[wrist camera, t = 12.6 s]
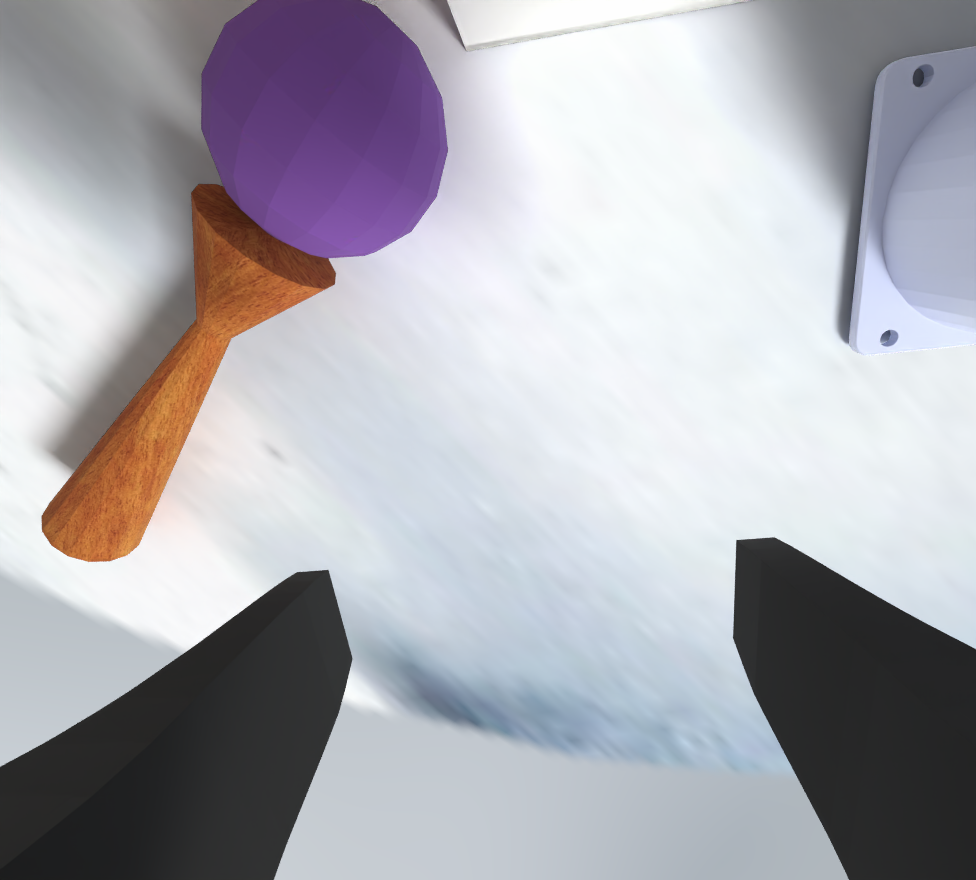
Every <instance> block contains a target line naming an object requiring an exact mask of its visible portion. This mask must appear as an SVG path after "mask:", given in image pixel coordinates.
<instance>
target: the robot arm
mask: <svg viewBox="0 0 976 880" xmlns="http://www.w3.org/2000/svg"><path fill="white" fill-rule="evenodd" d="M917 68H918V69H921V70H922V71H923V72H924V80H923V83H922V85H921V86H920V87H916V86H915V85H914V84H913V79H912V77H913V74H914V72H915V70H916V69H917ZM888 330H890V333H891V336H890V338H889V340H888V341H887V342H886V343H883V344H881V343H880V338H881V335H882V334H883V333H884V332H885V331H888ZM967 345H976V46H973V47H966V48H960V49H954V50H948V51H942V52H936V53H930V54H923V55H917V56H911V57H905V58H902V59H899V60H897V61H894V62H892V63H890V64H889V65H887V66H886V67H885V68H884V69H883V70H882V71H881V73H880V74H879V76H878V77H877V81H876V84H875V92H874V102H873V111H872V121H871V131H870V140H869V150H868V160H867V169H866V179H865V188H864V198H863V208H862V217H861V227H860V237H859V246H858V256H857V266H856V275H855V285H854V294H853V304H852V314H851V323H850V333H849V346H850V347H851V349H852V350H853V351H855V352H857V353H859V354H861V355H868V356H870V355H880V354H889V353H899V352H909V351H918V350H928V349H938V348H948V347H957V346H967ZM733 639H734V642H735V644H736V647H737V650H738V653H739V655H740V658H741V661H742V664H743V666H744V669H745V672H746V674H747V677H748V679H749V682H750V685H751V687H752V690H753V692H754V695H755V697H756V699H757V701H758V703H759V705H760V707H761V709H762V711H763V713H764V715H765V716H766V718H767V720H768V722H769V724H770V726H771V728H772V730H773V732H774V734H775V736H776V738H777V740H778V742H779V743H780V745H781V747H782V749H783V751H784V753H785V755H786V757H787V759H788V761H789V762H790V764H791V766H792V768H793V770H794V772H795V774H796V776H797V778H798V780H799V781H800V783H801V785H802V787H803V789H804V791H805V793H806V794H807V797H808V799H809V800H810V802H811V804H812V806H813V808H814V810H815V812H816V814H817V816H818V818H819V819H820V821H821V823H822V825H823V827H824V829H825V831H826V833H827V834H828V837H829V839H830V841H831V843H832V845H833V847H834V849H835V851H836V853H837V855H838V857H839V859H840V861H841V863H842V866H843V868H844V870H845V872H846V874H847V876H848V879H849V880H976V649H974V648H973V647H971V646H969V645H967V644H965V643H963V642H961V641H959V640H957V639H955V638H953V637H951V636H949V635H947V634H945V633H943V632H941V631H940V630H938V629H936V628H934V627H932V626H930V625H928V624H926V623H924V622H922V621H921V620H919V619H917V618H915V617H913V616H911V615H910V614H908V613H906V612H904V611H902V610H900V609H899V608H897V607H895V606H893V605H891V604H890V603H888V602H886V601H884V600H883V599H881V598H879V597H877V596H876V595H874V594H872V593H870V592H869V591H867V590H865V589H863V588H862V587H860V586H858V585H856V584H855V583H853V582H851V581H850V580H848V579H846V578H845V577H843V576H841V575H839V574H838V573H836V572H834V571H833V570H831V569H829V568H828V567H826V566H824V565H823V564H821V563H819V562H817V561H816V560H814V559H812V558H811V557H809V556H807V555H806V554H804V553H802V552H800V551H799V550H797V549H795V548H793V547H792V546H790V545H788V544H786V543H784V542H782V541H780V540H778V539H777V538H760V539H746V540H736V570H735V599H734V629H733ZM351 663H352V655H351V651H350V648H349V644H348V640H347V637H346V633H345V629H344V626H343V622H342V618H341V615H340V611H339V607H338V604H337V600H336V596H335V593H334V589H333V585H332V581H331V578H330V574H329V570H322V571H309V572H297V573H295V574H293V575H292V576H290V577H289V578H287V579H285V580H284V581H282V582H281V583H280V584H278V585H277V586H275V587H274V588H272V589H271V590H270V591H268V592H267V593H265V594H264V595H263V596H261V597H260V598H259V599H257V600H256V601H255V602H253V603H252V604H251V605H249V606H248V607H247V608H245V609H244V610H243V611H241V612H240V613H239V614H237V615H236V616H234V617H233V618H232V619H230V620H229V621H228V622H226V623H225V624H224V625H222V626H221V627H220V628H218V629H217V630H216V631H214V632H213V633H212V634H210V635H209V636H208V637H206V638H205V639H203V640H202V641H201V642H199V643H198V644H197V645H195V646H194V647H192V648H191V649H190V650H188V651H187V652H185V653H184V654H182V655H181V656H180V657H178V658H177V659H175V660H174V661H172V662H171V663H169V664H168V665H166V666H165V667H164V668H162V669H161V670H159V671H158V672H156V673H155V674H154V675H152V676H151V677H149V678H148V679H146V680H145V681H143V682H142V683H141V684H139V685H138V686H137V687H135V688H133V689H132V690H131V691H129V692H127V693H126V694H124V695H123V696H121V697H119V698H118V699H116V700H115V701H113V702H112V703H110V704H108V705H107V706H105V707H104V708H102V709H101V710H99V711H97V712H96V713H94V714H92V715H91V716H89V717H87V718H86V719H84V720H82V721H81V722H79V723H77V724H76V725H74V726H72V727H71V728H69V729H67V730H66V731H64V732H62V733H61V734H59V735H57V736H56V737H54V738H52V739H50V740H49V741H47V742H45V743H44V744H42V745H40V746H38V747H36V748H34V749H32V750H31V751H29V752H27V753H25V754H23V755H21V756H19V757H18V758H16V759H14V760H12V761H10V762H8V763H6V764H5V765H3V766H1V767H0V880H274V877H275V875H276V872H277V869H278V866H279V863H280V860H281V858H282V855H283V852H284V850H285V847H286V844H287V842H288V839H289V837H290V834H291V832H292V829H293V827H294V824H295V822H296V819H297V817H298V814H299V812H300V809H301V807H302V804H303V802H304V799H305V797H306V794H307V792H308V789H309V787H310V784H311V782H312V779H313V777H314V774H315V772H316V770H317V767H318V764H319V762H320V760H321V757H322V754H323V752H324V749H325V746H326V744H327V742H328V739H329V737H330V734H331V732H332V729H333V726H334V724H335V721H336V718H337V716H338V713H339V710H340V706H341V702H342V699H343V695H344V691H345V688H346V684H347V679H348V675H349V671H350V667H351Z"/></svg>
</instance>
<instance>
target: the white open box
mask: <svg viewBox="0 0 976 880" xmlns="http://www.w3.org/2000/svg"><path fill="white" fill-rule="evenodd" d="M746 1H751V0H447V2H448V4H449V7H450V10H451V12H452V15H453V17H454V20H455V23H456V25H457V28H458V30H459V33H460V36H461V38H462V41H463V43H464V46H465V49H466V51H473V50H479V49H484V48H490V47H495V46H501V45H506V44H512V43H518V42H523V41H529V40H534V39H540V38H545V37H551V36H557V35H562V34H568V33H573V32H579V31H584V30H590V29H595V28H601V27H607V26H612V25H618V24H623V23H629V22H634V21H640V20H646V19H651V18H657V17H662V16H668V15H673V14H679V13H685V12H690V11H696V10H701V9H707V8H712V7H718V6H723V5H729V4H735V3H740V2H746Z"/></svg>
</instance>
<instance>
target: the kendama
mask: <svg viewBox="0 0 976 880" xmlns="http://www.w3.org/2000/svg"><path fill="white" fill-rule="evenodd" d="M201 129H202V132H203V134H204V137H205V139H206V142H207V145H208V147H209V150H210V152H211V155H212V157H213V160H214V162H215V165H216V168H217V170H218V173H219V175H220V178H221V180H222V183H223V185H224V187H223V186H220V185H217V184H198V186H197V187H196V188H195V189H194V190H193V191H192V193H191V198H192V222H193V246H194V270H195V294H196V318H197V319H196V320H195V321H194V323H193V324H192V325H191V326H190V328H189V329H188V330H187V331H186V333H185V334H184V335H183V336H182V338H181V339H180V340H179V341H178V343H177V344H176V345H175V346H174V348H173V349H172V350H171V351H170V353H169V354H168V355H167V356H166V358H165V359H164V360H163V361H162V363H161V364H160V365H159V366H158V368H157V369H156V370H155V371H154V373H153V374H152V375H151V377H150V378H149V379H148V380H147V382H146V383H145V384H144V385H143V387H142V388H141V389H140V390H139V392H138V393H137V394H136V395H135V397H134V398H133V399H132V400H131V402H130V403H129V404H128V405H127V407H126V408H125V409H124V410H123V412H122V413H121V414H120V415H119V417H118V418H117V419H116V420H115V422H114V423H113V424H112V425H111V427H110V428H109V429H108V430H107V432H106V433H105V434H104V436H103V437H102V438H101V439H100V441H99V442H98V443H97V444H96V446H95V447H94V448H93V449H92V451H91V452H90V453H89V454H88V456H87V457H86V458H85V459H84V461H83V462H82V463H81V464H80V466H79V467H78V468H77V469H76V471H75V472H74V473H73V474H72V476H71V477H70V478H69V479H68V481H67V482H66V483H65V484H64V486H63V487H62V488H61V490H60V491H59V492H58V493H57V495H56V496H55V497H54V498H53V500H52V501H51V502H50V503H49V505H48V507H47V508H46V510H45V511H44V513H43V515H42V532H43V533H44V535H45V536H46V538H47V539H48V541H49V542H50V544H51V545H52V546H53V547H55V548H56V549H58V550H59V551H61V552H62V553H64V554H66V555H67V556H69V557H73V558H77V559H80V560H84V561H88V562H98V561H112V560H115V559H117V558H120V557H123V556H126V555H128V554H129V553H130V552H131V551H133V550H134V549H135V548H136V547H137V546H138V545H139V543H140V541H141V539H142V537H143V534H144V532H145V530H146V528H147V526H148V523H149V521H150V519H151V517H152V514H153V512H154V510H155V508H156V505H157V503H158V501H159V499H160V497H161V494H162V492H163V490H164V488H165V485H166V483H167V481H168V479H169V476H170V474H171V472H172V470H173V468H174V465H175V463H176V461H177V459H178V456H179V454H180V452H181V450H182V447H183V445H184V443H185V441H186V439H187V436H188V434H189V432H190V430H191V427H192V425H193V423H194V421H195V418H196V416H197V414H198V412H199V409H200V407H201V405H202V403H203V401H204V398H205V396H206V394H207V392H208V389H209V387H210V385H211V383H212V380H213V378H214V376H215V374H216V372H217V369H218V367H219V365H220V363H221V360H222V358H223V356H224V354H225V351H226V349H227V347H228V345H229V343H230V340H231V338H233V337H235V336H236V335H238V334H240V333H242V332H244V331H246V330H248V329H250V328H252V327H254V326H256V325H258V324H260V323H261V322H263V321H265V320H267V319H269V318H271V317H273V316H275V315H277V314H279V313H281V312H283V311H285V310H287V309H288V308H290V307H292V306H294V305H296V304H298V303H300V302H302V301H304V300H306V299H308V298H310V297H312V296H313V295H315V294H317V293H319V292H321V291H323V290H325V289H327V288H329V287H331V286H333V285H335V277H336V273H335V271H334V269H333V267H332V265H331V263H330V261H329V259H328V258H338V257H352V256H365V255H368V254H371V253H374V252H376V251H378V250H380V249H382V248H383V247H385V246H387V245H389V244H390V243H392V242H394V241H396V240H397V239H399V238H401V237H403V236H404V235H406V234H408V233H410V232H411V231H412V230H413V228H414V227H415V226H416V224H417V223H418V222H419V220H420V219H421V217H422V216H423V215H424V213H425V212H426V211H427V209H428V208H429V206H430V205H431V204H432V202H433V201H434V200H435V198H436V197H437V193H438V189H439V185H440V180H441V176H442V172H443V168H444V164H445V160H446V156H447V152H448V147H447V138H446V129H445V120H444V111H443V102H442V97H441V95H440V93H439V90H438V88H437V86H436V84H435V82H434V80H433V78H432V76H431V74H430V72H429V70H428V67H427V65H426V63H425V61H424V59H423V57H422V55H421V53H420V51H419V49H418V47H417V46H416V45H415V44H414V43H413V42H412V41H411V40H410V39H409V38H408V37H407V36H406V35H405V34H404V33H403V32H402V31H401V30H400V29H399V28H398V27H397V26H396V25H395V24H394V23H393V22H392V21H391V20H390V19H389V18H388V17H387V16H386V15H385V14H384V13H383V12H382V11H381V10H380V9H379V8H378V7H377V6H374V5H372V4H369V3H366V2H364V1H361V0H258V1H256V2H255V3H254V4H252V5H251V6H249V7H248V8H247V9H245V10H244V11H242V12H241V13H240V14H238V15H237V16H236V17H234V18H233V19H231V20H230V21H229V22H227V23H226V24H225V25H224V28H223V30H222V32H221V34H220V36H219V38H218V40H217V42H216V44H215V47H214V49H213V51H212V53H211V55H210V57H209V59H208V61H207V63H206V65H205V68H204V70H203V72H202V108H201Z"/></svg>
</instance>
